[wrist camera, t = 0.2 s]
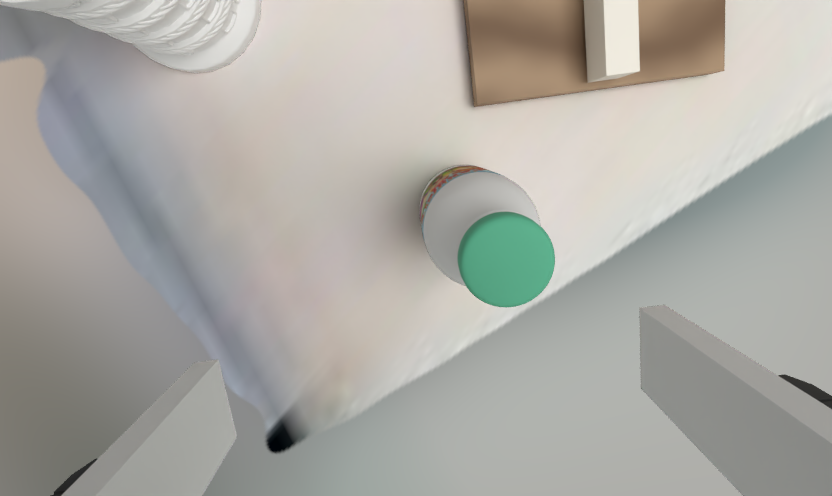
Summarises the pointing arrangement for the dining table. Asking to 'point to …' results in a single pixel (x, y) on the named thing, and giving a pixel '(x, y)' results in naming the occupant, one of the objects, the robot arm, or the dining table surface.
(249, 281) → the dining table surface
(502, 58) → the board
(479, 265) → the milk bottle
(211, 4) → the decorative container
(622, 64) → the tuning dial
